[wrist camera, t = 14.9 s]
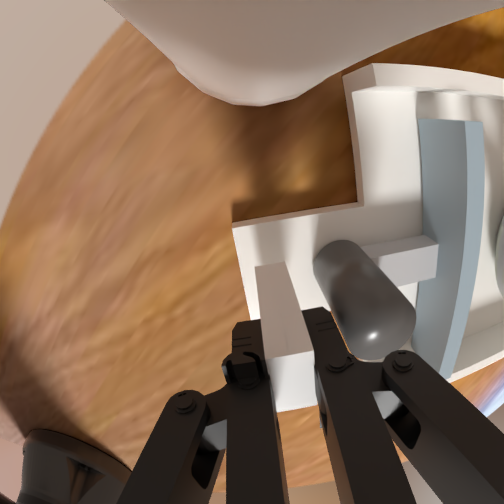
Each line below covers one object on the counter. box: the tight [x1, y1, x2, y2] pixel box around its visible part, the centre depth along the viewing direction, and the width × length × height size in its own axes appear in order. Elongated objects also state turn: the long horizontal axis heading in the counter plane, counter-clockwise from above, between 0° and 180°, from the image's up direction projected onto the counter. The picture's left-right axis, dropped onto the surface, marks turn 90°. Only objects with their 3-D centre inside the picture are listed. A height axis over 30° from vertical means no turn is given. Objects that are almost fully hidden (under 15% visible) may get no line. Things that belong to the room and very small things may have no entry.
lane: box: [232, 63, 504, 383], centre depth 15 cm, size 33×20×6 cm, turn 100°
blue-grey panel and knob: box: [313, 119, 485, 379], centre depth 14 cm, size 8×15×6 cm, turn 10°
